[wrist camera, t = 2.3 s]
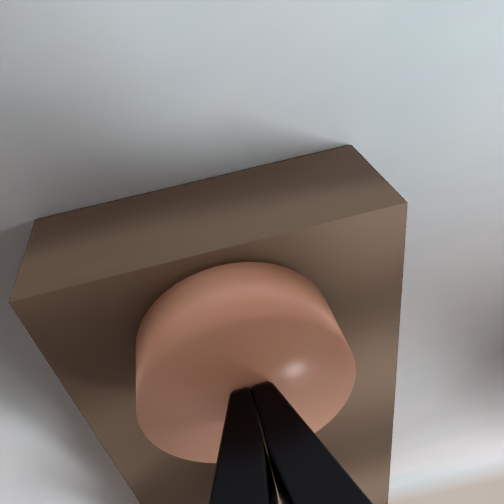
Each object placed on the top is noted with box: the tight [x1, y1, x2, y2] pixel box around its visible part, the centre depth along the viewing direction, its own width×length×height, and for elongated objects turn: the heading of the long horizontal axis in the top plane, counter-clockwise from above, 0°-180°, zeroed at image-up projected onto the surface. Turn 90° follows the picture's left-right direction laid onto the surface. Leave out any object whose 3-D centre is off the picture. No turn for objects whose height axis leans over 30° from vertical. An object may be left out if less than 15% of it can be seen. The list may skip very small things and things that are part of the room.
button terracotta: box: [136, 262, 356, 463], centre depth 10 cm, size 4×4×2 cm
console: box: [9, 145, 407, 504], centre depth 15 cm, size 17×8×3 cm, turn 8°
